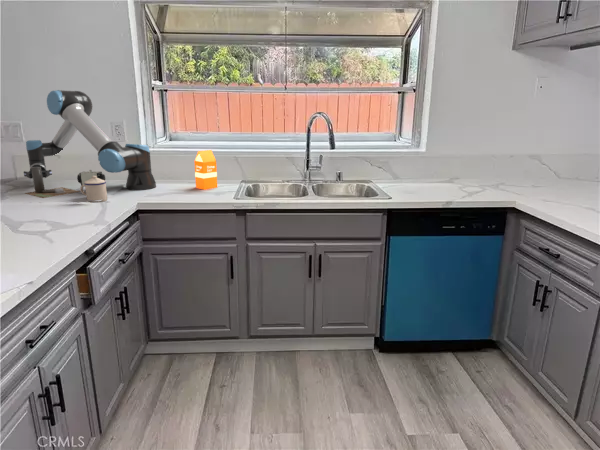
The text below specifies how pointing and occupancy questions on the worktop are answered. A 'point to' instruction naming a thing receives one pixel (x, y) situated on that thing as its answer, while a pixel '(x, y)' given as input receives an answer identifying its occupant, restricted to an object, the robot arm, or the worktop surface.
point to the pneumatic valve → (89, 176)
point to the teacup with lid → (95, 189)
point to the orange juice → (205, 170)
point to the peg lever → (41, 182)
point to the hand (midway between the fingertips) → (37, 177)
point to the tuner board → (52, 193)
